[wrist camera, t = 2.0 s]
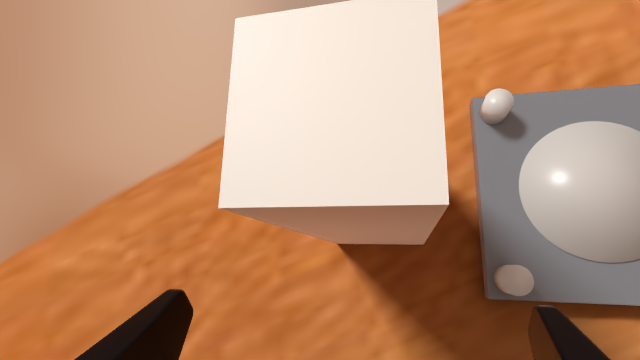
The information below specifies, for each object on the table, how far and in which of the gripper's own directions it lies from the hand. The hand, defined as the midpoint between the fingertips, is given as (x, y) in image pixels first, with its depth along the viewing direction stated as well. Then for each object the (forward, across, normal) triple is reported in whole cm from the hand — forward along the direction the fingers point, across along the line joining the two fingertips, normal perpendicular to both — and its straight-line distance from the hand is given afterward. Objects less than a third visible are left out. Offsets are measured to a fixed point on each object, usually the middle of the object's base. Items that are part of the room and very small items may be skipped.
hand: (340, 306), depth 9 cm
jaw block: (+12, 0, +5) cm, 13 cm away
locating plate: (+12, -11, +5) cm, 17 cm away
